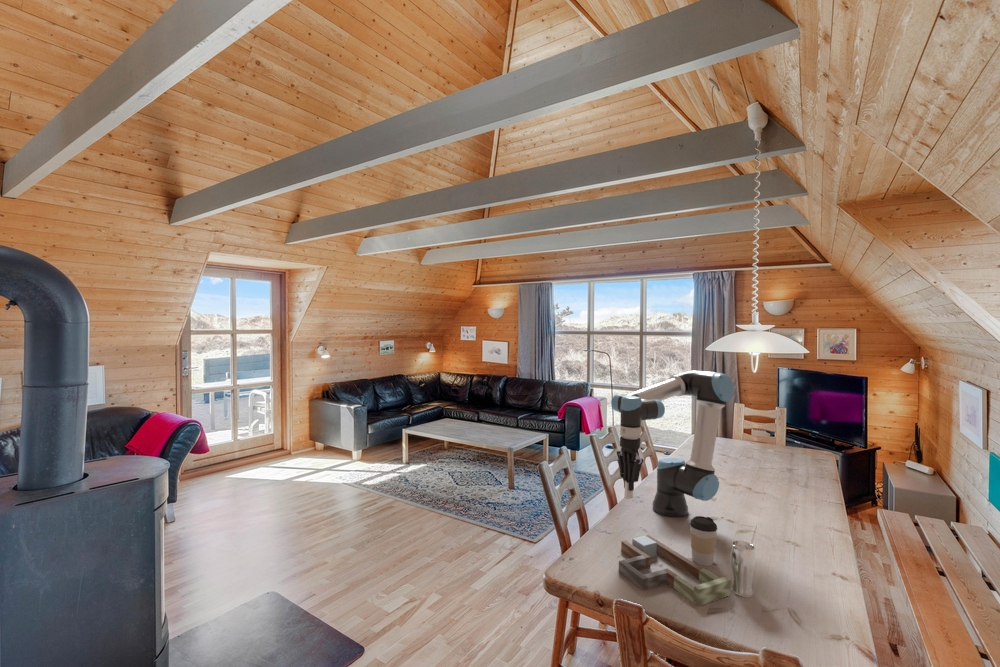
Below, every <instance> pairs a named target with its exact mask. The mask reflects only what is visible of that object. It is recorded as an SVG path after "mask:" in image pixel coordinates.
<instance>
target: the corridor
mask: <svg viewBox="0 0 1000 667" xmlns="http://www.w3.org/2000/svg"><path fill="white" fill-rule="evenodd" d="M646 536H647V537H648V538H650V539H652V540H653V541H655V542H657V552H656V555H659V556H661V558H664V559H665V560H667V561H668V562H670V563H672V564H673V565H674V566H675V567H676V566H677V567H678V569H680V570H682V571H684V572H685V573H687V574H688V575H689V576H692V577H693V578H695V579H696V580H698V582H701V583H700V584H697V585H694V584H692V583H690V582H689V581H687V580H686V579H685V578H683V577H682V576H680V575H678V574H676V573H675V572H673V571H672V570H671V569H670V568H663V569H660V570H657V571H652V572H649V573H646V574H643V573H642V572H641V570H643V569H647V568H650V567H651V557H650V556H648V555H647V554H645V553H644V552H642V551H641V550H639V549H638V548H636V547H635V546H633V545H632V543H630V542H629V541H628V540H621V541H620V542H621V543H620V544H621V546H620V550H621V552H623V553H624V554H626V556H628V557H630V558H625V559H622V560H619V561H618V572H619V573H620V574H621V575H623V576H624V577H625V578H627V580H629V581H630V582H632V583H633V584H634V585H636V586H637V587H638V588H640V589H641V590H642V591H646V590H649V589H653V588H655V587H659V586H663V585H666V584H667V585H669V586H670V587H671V588H673V589H675V590H676V591H677V592H679V594H681V595H683V596H684V597H686V598H687V599H688V600H690V601H691V602H692V603H694V604H695V603H696V605H697V606H698V605H699V606H698V607H701V606H703V604H704V605H706V603H707V604H709V603H708V602H710V603H712V602H711V601H713V602H715V601H714V600H716V601H718V600H717V599H719V600H721V599H720V598H722V599H724V598H723V597H725V598H727V597H726V596H728V597H730V596H729V595H731V594H730V591H731V590H730V589H731V580H730V579H729V578H727V577H726V576H723V577H718V576H717V575H715V574H713V573H712V572H710V571H709V570H707V569H705V568H703V567H702V566H701V565H699V564H698V563H696V562H694V561H693V560H690V559H688V558H687V557H685V556H683V555H682V554H680V553H679V552H677V551H676V550H674V549H672V548H670V547H669V546H667V545H665V544H664V543H663V542H660V541H659V540H658V539H655V537H653V536H651V535H649V534H647V535H646ZM700 605H701V606H700Z"/></svg>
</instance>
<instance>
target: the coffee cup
mask: <svg viewBox="0 0 1000 667" xmlns="http://www.w3.org/2000/svg"><path fill="white" fill-rule="evenodd" d="M689 525H690V531H689V532H690V545H691V546H690V547H691V558H692V562H693V563H695V564H697V565H700V566H701V565H702V566H705V567H706V566H712V565H713V564H714V556H715V551H716V544H717V532H718V525H717V524H716V523H715V521H714V519H713V518H711V517H709V516H700V515H699V516H698V515H697V516H694V517H693V518H692V519H690V522H689Z"/></svg>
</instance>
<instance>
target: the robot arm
mask: <svg viewBox="0 0 1000 667" xmlns="http://www.w3.org/2000/svg"><path fill="white" fill-rule="evenodd" d="M734 394H735V385H734V382H733V380H732V378H731V377H730V376H729V375H728V374H726V373H722V372H718V371H717V372H716V371H709V370H708V371H705V370H698V369H697V370H696V369H695V370H694V369H693V370H687V371H683V372H680V373H676V374H674V375H671V376H669V378H668V379H667V380H664V381H661V382H658V383H656V384H652V385H650V386H647V387H644V388H642V389H641V388H640V389H639V390H636V391H633V392H629V393H627V394H624V393H616V394H614V395H613V397H612V398H611V401H610V402H611V407H612V408H611V409H613V410H614V411H615V412H618V413H620V427H619V428H620V431H619V432H620V433H619V434H620V437H619V446H620V447H621V448H620V450H617V451H616V455H617V459H618V466H619V476H620V478H622V479H623V484H624V485H623V488H624V497H623V498H624V499H626V500H630V499H633V496H634V486H635V484H634V483H637V482H639V479H640V473H641V471H642V470H641V468H642V464H643V463H644V458H641V457H640V456H639V455H640V454H639V449H640V448H641V438H640V437H642V436H641V433H642V431H641V429H642V428H641V426H642V422H641V421H648V420H657V419H661V418H662V417H663V416H665V411H666V410H665V409H666V407H665V405H664V403H663V402H662V401H664V400H668V399H670V398H673V397H682V396H693V397H696V400H695V401H696V402H697V403H698V409H697V410H698V411H697V418H696V422H695V429H694V435H693V439H692V440H693V441H692V447H691V454H690V459H689V460H687V461H685V460H684V459H682V458H676V457H675V458H674V457H670V458H669V457H668V458H662V459H659V460H658V461H657V468H656V492H655V496H654V498H653V501H652V509H653V510H654V512H656V513H658V514H660V515H663V516H667V517H673V518H675V517H676V518H680V517H685V516H687V515H688V514H689V507H688V504H687V500H686V496H685V495H687V496H689V497H691V498H694V499H696V500H700V501H704V502H707V501H711V500H712V499H713V498H714V497H715V496H716V495H717V493H718V490H719V488H720V481H719V477H718V476H717V475H716V474H715V472H716V468H714V466H713V459H714V454H715V448H716V447H715V446H716V442H717V434H718V430H719V429H718V428H719V422H720V417H721V416H720V415H721V412H722V409H723V408H725V407H726V403H727V402H730V401H731V400H732V398H733V397H734Z"/></svg>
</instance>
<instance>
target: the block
mask: <svg viewBox="0 0 1000 667" xmlns="http://www.w3.org/2000/svg"><path fill="white" fill-rule="evenodd" d="M631 544H632V545H633V546H635V547H636V548H638V549H639V550H641V551H642V552H644V553H645V554H647V555H648V556H650V558H653V557H657V553H656V552H657V542H655V541H653V540H652V539H650V538H648V537H647V535H641V536H636V537H633V538H632V543H631Z"/></svg>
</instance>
